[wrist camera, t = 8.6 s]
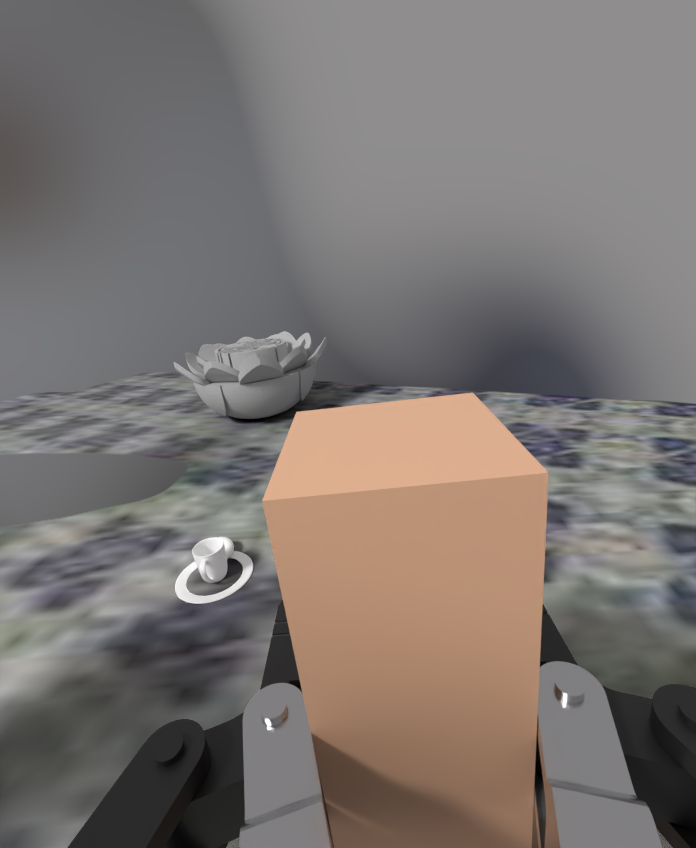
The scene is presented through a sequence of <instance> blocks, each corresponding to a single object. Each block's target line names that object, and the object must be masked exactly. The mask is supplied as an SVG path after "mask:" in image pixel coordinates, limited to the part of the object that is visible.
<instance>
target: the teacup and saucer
mask: <svg viewBox="0 0 696 848" xmlns="http://www.w3.org/2000/svg"><path fill="white" fill-rule="evenodd" d="M192 553H193V556H194V559H195V562H193V563H192V564H190V565H189V566H188V567H186V568H185V569H184V570H183V571H182V573H181V574H180V575H179V577H178V579H177V581H176V584H175V592H176V594H177V596H178V597H179V598H180V599H181V600H183V601H185V602H188V603H193V604H204V603H210V602H214V601H218V600H221V599H223V598H225V597H227V596H229V595H231V594H233V593H235V592H236V591H237V590H239V589H240V588H241V587H242V586H243V585H244V584H245V583H246V582H247V581H248V580H249V578H250V576H251V574H252V572H253V562H252V560H251V558H250V557H249V556H247V555H246V554H244V553H242V552H238V551H234V544H233V542H232V540H231V539H229V538H227V537H216V538H208V539H205V540H202V541H200V542H199V543H197V544H196V545H195V546H194V548H193V550H192ZM229 558H233V559H236V560H238V561H239V562H240V563H241V564H242V566H243V572H242V575H241V577H240V578H239V580H238V581H237V582H236V583H235V584H234V585H232V586H231V587H230V588H228V589H226V590H224V591H222V592H220V593H217V594H214V595H209V596H198V595H194V594H192V593H190V592H189V591H188V590H187V588H186V581H187V578H188V577H189V575H190V574H191V573H192V572H193V571H194V570H195V569H196V568H197V567H198V569H199V571H200V574H201V576H202V578H203V579H204V581H206V582H209V583H215V582H218V581H220V580H222V579H223V578H224V577H225V576H226V573H227V560H228V559H229Z"/></svg>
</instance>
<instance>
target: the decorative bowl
mask: <svg viewBox="0 0 696 848" xmlns="http://www.w3.org/2000/svg"><path fill="white" fill-rule="evenodd" d="M326 343H327V341H326V337H325V338H324V340H323V342H322V343H321V344H320V346H319V347H318V348H317V349H316V350H315V351H314V352H312V353H311V349H312V346H311V339H310V335H309V333H305V334H303V335H302V336H301V337H300V338H299V339H298V340H297V341H296V340H295V339H294V337H293V336H292V335H291V334H290V333H288V332H282V333H280V334H278V335H277V334H275V335H272V336H270V337H268V338H267V339H258V340H255V339H253V338H251V337H243V338H241V339H240V340H238V342H237V343H234V344H231V345H225V344H215V345H210V344H204V345H203V346H202V347H201V348H200V350H199V354H198V356H197V355H195V354H192V353H190V352H185V356H186V360H187V363H188V366H189V368H190V370H191V371H192V372H193V373H194V374H192V373H190V372H188V371H187V370H185V369H184V368H182V367H181V366H180V365H178V364H177V363H175V362H174V366H175V369H176V370H177V371H178V372H179V373H180V374H182V375H183V376H185V377H187V378H189V379H191V380H193V383H194V386H195V388H196V391H197V393H198V394H199V396H200V397H201V399H202V400H203V401H204V402H205V404H206V405H207V406H209V407H210V408H211V409H212V410H213V411H215V412H217V413H218V414H220V415H222V416H226V415H228V416H231V417H235V418H241V419H258V418H265V417H270V416H273V415H276V414H279V413H282V412H284V411H286V410H288V409H289V408H291V407H292V406H294V405H295V404H296V403H298V402H299V401H300V399H301V400H302V401H303V400H304V398H305V397H306V396H307V394H308V393H309V391H310V389H311V387H312V384H313V381H314V377H315V362H316V360H317V359H318V358H319V356H320V355H321V353H322V352H323V349H324V348H325V345H326Z"/></svg>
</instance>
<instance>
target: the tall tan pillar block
mask: <svg viewBox="0 0 696 848" xmlns="http://www.w3.org/2000/svg"><path fill="white" fill-rule="evenodd" d="M548 474H549V473H548V472H547V471H546V470H545V468H544V467H543V466H542V465H541V464H540V463H539V462H538V461H537V460H536V459H535V458H534V457H533V456H532V455H531V454H530V453H529V452H528V451H527V449H526V448H525V447H524V446H523V445H522V444H521V443H520V442H519V441H518V440H517V439H516V438H515V437H514V436H513V435H512V434H511V433H510V432H509V430H508V429H507V428H506V427H505V426H504V425H503V424H502V423H501V422H500V421H499V420H498V419H497V418H496V417H495V416H494V415H493V414H492V413H491V412H490V410H489V409H488V408H487V407H486V406H485V405H484V404H483V403H482V402H481V401H480V400H479V399H478V398H477V397H476V396H475V395H474V394H473V393H466V394H457V395H448V396H439V397H429V398H420V399H411V400H402V401H392V402H383V403H374V404H365V405H355V406H346V407H337V408H328V409H318V410H309V411H300V412H296V414H295V417H294V419H293V422H292V425H291V427H290V430H289V433H288V435H287V438H286V440H285V443H284V446H283V448H282V451H281V453H280V456H279V459H278V461H277V464H276V466H275V469H274V472H273V474H272V477H271V479H270V482H269V485H268V487H267V490H266V492H265V495H264V498H263V500H262V502H263V507H264V512H265V517H266V521H267V526H268V531H269V536H270V540H271V545H272V550H273V555H274V560H275V564H276V569H277V574H278V579H279V584H280V588H281V593H282V598H283V603H284V607H285V612H286V617H287V622H288V627H289V631H290V636H291V641H292V646H293V650H294V655H295V660H296V665H297V670H298V674H299V679H300V684H301V689H302V694H303V698H304V703H305V708H306V713H307V717H308V722H309V727H310V732H311V735H312V740H313V745H314V749H315V755H316V761H317V765H318V770H319V775H320V780H321V784H322V789H323V794H324V799H325V803H326V807H327V812H328V816H329V822H330V827H331V832H332V837H333V842H334V847H335V848H532V826H533V804H534V782H535V760H536V738H537V716H538V694H539V672H540V650H541V628H542V606H543V584H544V562H545V540H546V518H547V496H548Z"/></svg>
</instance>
